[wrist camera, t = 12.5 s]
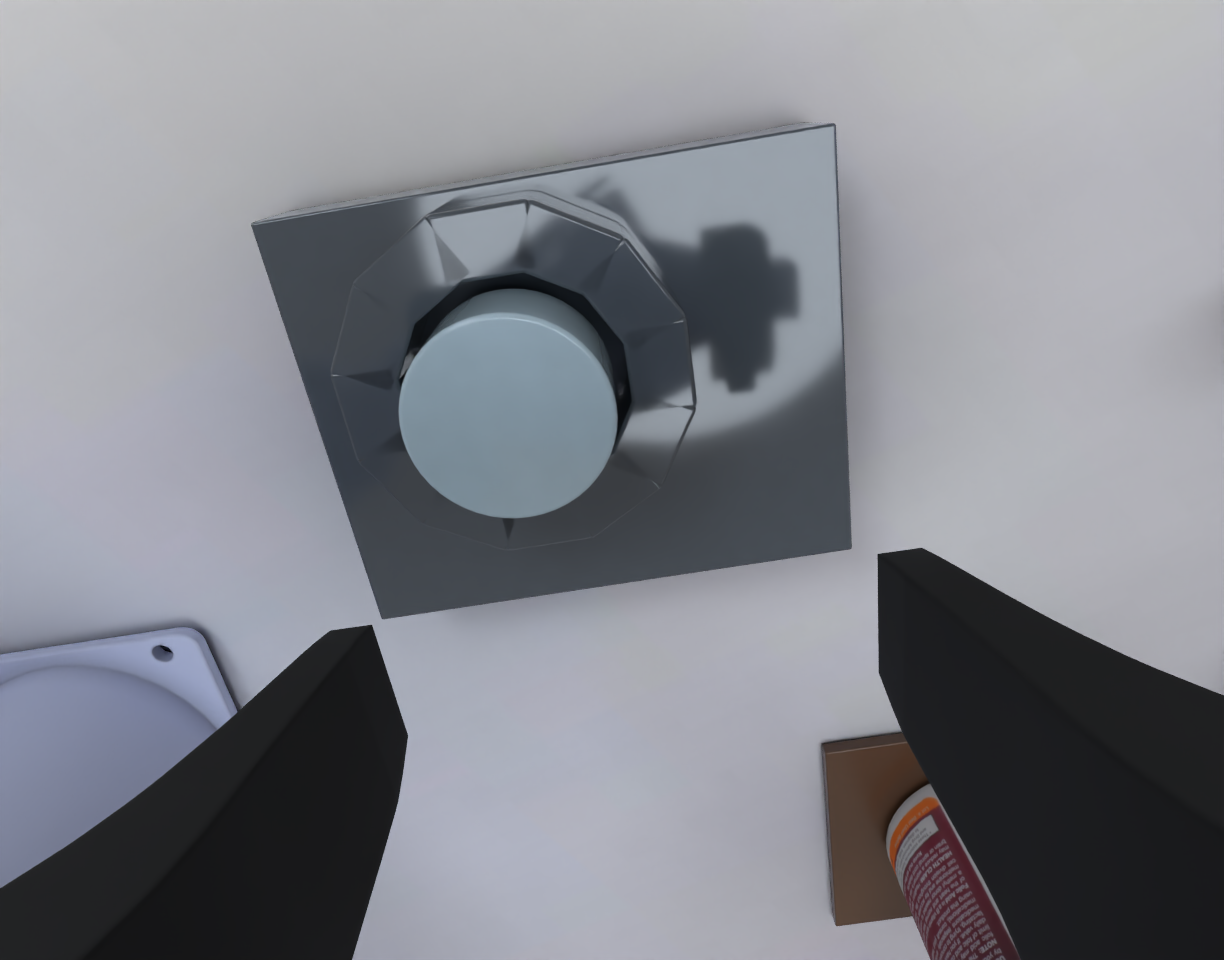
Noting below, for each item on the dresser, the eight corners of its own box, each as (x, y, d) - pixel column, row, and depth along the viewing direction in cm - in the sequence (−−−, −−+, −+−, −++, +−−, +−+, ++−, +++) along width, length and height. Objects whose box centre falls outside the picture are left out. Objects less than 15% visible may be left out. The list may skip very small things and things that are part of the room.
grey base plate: (401, 571, 21) (361, 668, 17) (289, 210, 17) (207, 236, 13) (826, 506, 20) (878, 592, 17) (806, 121, 17) (867, 123, 13)
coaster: (832, 915, 27) (835, 927, 26) (821, 743, 23) (825, 753, 23) (1076, 883, 26) (1083, 894, 26) (1097, 704, 23) (1106, 713, 23)
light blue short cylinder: (447, 485, 16) (428, 534, 14) (398, 305, 14) (370, 333, 12) (627, 456, 16) (632, 503, 14) (597, 272, 14) (598, 295, 12)
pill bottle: (914, 900, 26) (1051, 1230, 18) (859, 806, 24) (986, 1128, 16) (1058, 845, 25) (1266, 1168, 17) (1012, 742, 23) (1221, 1052, 15)
